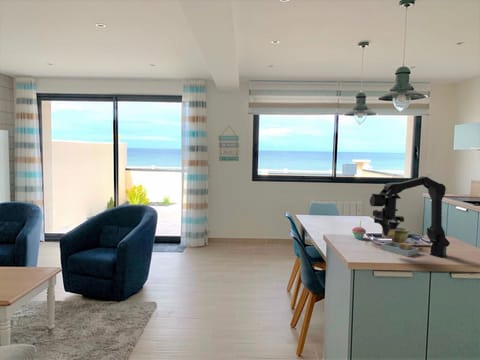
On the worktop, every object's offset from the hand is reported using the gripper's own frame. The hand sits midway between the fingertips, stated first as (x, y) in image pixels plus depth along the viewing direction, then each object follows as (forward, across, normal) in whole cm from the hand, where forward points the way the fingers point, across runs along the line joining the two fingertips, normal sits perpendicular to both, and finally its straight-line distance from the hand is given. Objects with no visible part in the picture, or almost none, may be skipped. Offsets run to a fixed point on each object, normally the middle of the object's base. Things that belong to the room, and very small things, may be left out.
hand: (388, 235), depth 179 cm
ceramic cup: (+11, -26, -10) cm, 29 cm away
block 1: (+1, 0, 0) cm, 1 cm away
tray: (+11, -13, -1) cm, 17 cm away
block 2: (+10, -13, +3) cm, 17 cm away
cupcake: (+11, -18, -32) cm, 38 cm away
